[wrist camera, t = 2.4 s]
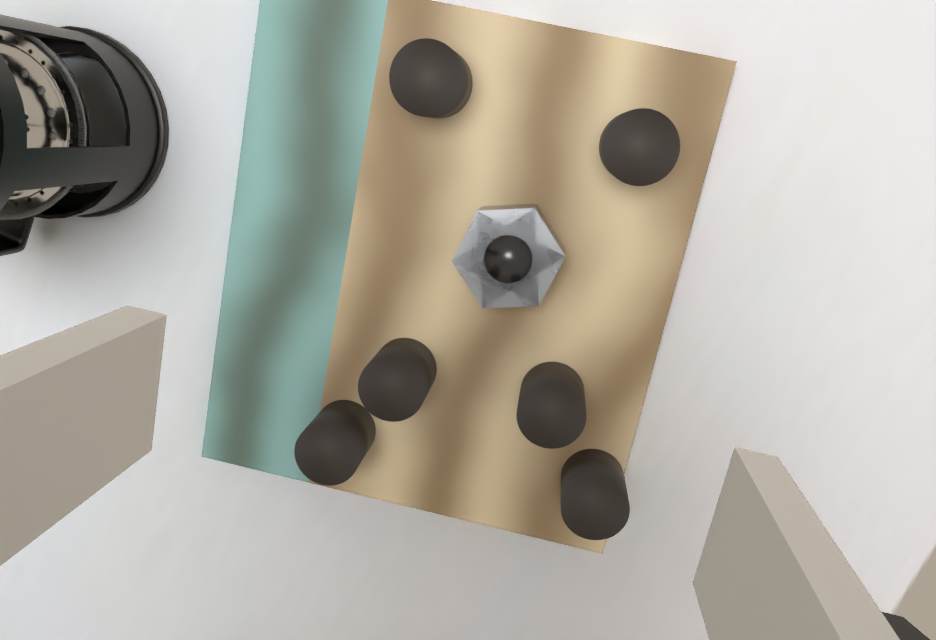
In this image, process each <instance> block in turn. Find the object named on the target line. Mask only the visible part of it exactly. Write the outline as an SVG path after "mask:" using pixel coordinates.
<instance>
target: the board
mask: <svg viewBox="0 0 936 640" xmlns="http://www.w3.org/2000/svg"><path fill="white" fill-rule="evenodd" d="M736 62H737V61H732V60H727V59H722V58H717V57H712V56H707V55H702V54H697V53H692V52H687V51H682V50H677V49H672V48H667V47H662V46H657V45H652V44H647V43H642V42H637V41H632V40H626V39H621V38H616V37H611V36H606V35H601V34H596V33H591V32H586V31H581V30H576V29H571V28H566V27H561V26H556V25H551V24H546V23H541V22H536V21H531V20H526V19H521V18H516V17H511V16H506V15H501V14H496V13H491V12H486V11H481V10H476V9H471V8H466V7H461V6H456V5H451V4H446V3H441V2H436V1H431V0H260V5H259V13H258V21H257V29H256V36H255V44H254V52H253V60H252V68H251V75H250V83H249V91H248V99H247V107H246V114H245V122H244V130H243V138H242V146H241V153H240V161H239V169H238V177H237V185H236V192H235V200H234V208H233V216H232V224H231V231H230V239H229V247H228V255H227V263H226V271H225V278H224V286H223V294H222V302H221V310H220V317H219V325H218V333H217V341H216V349H215V356H214V364H213V372H212V380H211V388H210V395H209V403H208V411H207V419H206V427H205V434H204V442H203V450H202V457H206V458H210V459H214V460H219V461H223V462H227V463H231V464H235V465H239V466H243V467H247V468H252V469H256V470H260V471H264V472H268V473H272V474H276V475H280V476H284V477H289V478H293V479H297V480H301V481H305V482H309V483H313V484H317V485H322V486H326V487H330V488H334V489H338V490H342V491H346V492H350V493H355V494H359V495H363V496H367V497H371V498H375V499H379V500H383V501H388V502H392V503H396V504H400V505H404V506H408V507H412V508H416V509H421V510H425V511H429V512H433V513H437V514H441V515H445V516H449V517H454V518H458V519H462V520H466V521H470V522H474V523H478V524H482V525H487V526H491V527H495V528H499V529H503V530H507V531H511V532H515V533H520V534H524V535H528V536H532V537H536V538H540V539H544V540H548V541H553V542H557V543H561V544H565V545H569V546H573V547H577V548H581V549H586V550H590V551H594V552H598V553H603V549H604V546H605V542H606V539H607V538H610V537H612V536H614V535H615V534H617V533H618V532H619V531H621V529H622V528H623V527H624V526H625V524H626V522H627V520H628V517H629V511H630V508H629V501H628V495H627V490H626V484H625V479H624V472H625V469H626V465H627V461H628V458H629V454H630V450H631V447H632V443H633V439H634V436H635V432H636V428H637V425H638V421H639V417H640V414H641V410H642V406H643V403H644V399H645V395H646V392H647V388H648V384H649V381H650V377H651V373H652V370H653V366H654V362H655V359H656V355H657V351H658V348H659V344H660V340H661V337H662V333H663V329H664V326H665V322H666V318H667V315H668V311H669V307H670V304H671V300H672V296H673V293H674V289H675V285H676V282H677V278H678V274H679V271H680V267H681V263H682V260H683V256H684V252H685V249H686V245H687V241H688V238H689V234H690V230H691V227H692V223H693V219H694V216H695V212H696V208H697V205H698V201H699V197H700V194H701V190H702V186H703V183H704V179H705V175H706V172H707V168H708V164H709V161H710V157H711V153H712V150H713V146H714V142H715V139H716V135H717V131H718V128H719V124H720V120H721V117H722V113H723V109H724V106H725V102H726V98H727V95H728V91H729V87H730V84H731V80H732V76H733V73H734V69H735V65H736ZM517 204H537V205H538V207H539V208H540V210H541V212H542V213H543V215H544V216H545V218H546V219H547V221H548V223H549V224H550V226H551V227H552V229H553V230H554V232H555V234H556V235H557V237H558V238H559V240H560V241H561V243H562V245H563V246H564V248H565V251H566V257H565V259H564V261H563V262H562V264H561V266H560V268H559V270H558V272H557V274H556V275H555V277H554V279H553V281H552V283H551V285H550V287H549V288H548V290H547V292H546V294H545V296H544V298H543V300H542V301H541V303H540V305H539V306H534V307H506V308H482V307H481V305H480V304H479V302H478V301H477V299H476V298H475V296H474V294H473V293H472V291H471V290H470V288H469V287H468V285H467V284H466V282H465V281H464V279H463V278H462V276H461V275H460V273H459V272H458V270H457V269H456V267H455V266H454V264H453V263H452V260H453V258H454V256H455V254H456V252H457V250H458V248H459V246H460V244H461V242H462V240H463V238H464V236H465V234H466V232H467V230H468V228H469V226H470V224H471V222H472V220H473V218H474V216H475V214H476V212H477V210H479V209H480V208H481V207H482V206H497V205H517Z"/></svg>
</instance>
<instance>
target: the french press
mask: <svg viewBox="0 0 936 640" xmlns="http://www.w3.org/2000/svg"><path fill="white" fill-rule="evenodd" d="M70 53H74V54H81V55H84V56H87V57H90V58H93V59H95V60H96V61H98V62H100V63H101V64H102V65H103V67H104V68H105V69H106V70H107V72H108V73H109V75H110V77H111V79H112V80H113V82H114V84H115V86H116V88H117V90H118V92H119V95H120V98H121V101H122V104H123V108H124V113H125V120H126V126H127V130H126V146H90V141H91V135H90V122H89V117H88V111H87V107H86V104H85V101H84V98H83V95H82V92H81V89H80V88H79V86H78V84H77V82H76V80H75V78H74V76H73V75H72V73H71V71H70V70H69V69H68V67H67V66H66V65H65V63H64V62H63V61H62V59H61V58H60V57H59V56H58V55H60V54H70ZM167 143H168V123H167V116H166V109H165V106H164V103H163V100H162V97H161V94H160V91H159V89H158V87H157V85H156V83H155V81H154V79H153V77H152V76H151V74H150V73H149V71H148V70H147V69H146V67H145V66H144V65H143V63H142V62H141V61H140V60H139V58H138V57H136V56H135V55H134V54H133V53H132V52H131V51H130V50H129V49H127V48H126V47H125V46H124V45H123V44H121V43H119V42H118V41H116V40H114V39H113V38H111V37H109V36H108V35H105V34H102V33H99V32H97V31H94V30H91V29H87V28H80V27H72V26H65V27H55V26H51V25H46V24H41V23H37V22H32V21H27V20H23V19H18V18H14V17H9V16H4V15H0V256H3V255H8V254H12V253H17V252H20V251H22V250H23V249H24V248H25V246H26V243H27V240H28V237H29V233H30V230H31V227H32V224H33V221H34V217H40V218H46V219H53V218H67V217H73V216H78V217H100V216H105V215H109V214H112V213H116V212H119V211H121V210H123V209H125V208H127V207H128V206H130V205H132V204H134V203H135V202H136V201H137V200H138V199H139V198H141V197H142V196H143V195H144V194H145V193H146V192H147V191H148V189H149V188H150V187H151V185H152V184H153V183H154V181H155V180H156V178H157V176H158V174H159V172H160V170H161V167H162V165H163V162H164V158H165V154H166V150H167ZM111 181H113V182H112V183H111V185H109V186H108V187H106V188H104V189H102V190H98V191H94V192H86V193H81V192H75V191H70V190H71V189H72V188H73V186H74V185H81V184H91V183H101V182H111Z"/></svg>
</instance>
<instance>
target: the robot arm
mask: <svg viewBox="0 0 936 640" xmlns="http://www.w3.org/2000/svg"><path fill="white" fill-rule="evenodd" d="M165 324H166V315H165V314H161V313H156V312H152V311H148V310H144V309H139V308H135V307H131V306H126V307H123V308H120V309H118V310H115V311H113V312H110V313H108V314H105V315H103V316H100V317H98V318H95V319H92V320H90V321H87V322H85V323H82V324H80V325H77V326H75V327H72V328H69V329H67V330H64V331H62V332H59V333H57V334H54V335H52V336H49V337H47V338H44V339H41V340H39V341H36V342H34V343H31V344H29V345H26V346H24V347H21V348H18V349H16V350H13V351H11V352H8V353H6V354H3V355H1V356H0V566H1V565H2V564H3V563H4V562H6V561H7V560H8V559H10V558H11V557H12V556H14V555H15V554H16V553H18V552H19V551H20V550H21V549H23V548H24V547H25V546H27V545H28V544H29V543H31V542H32V541H33V540H35V539H36V538H37V537H38V536H40V535H41V534H42V533H44V532H45V531H46V530H48V529H49V528H50V527H52V526H53V525H54V524H55V523H57V522H58V521H59V520H61V519H62V518H63V517H65V516H66V515H67V514H68V513H70V512H71V511H72V510H74V509H75V508H76V507H78V506H79V505H80V504H82V503H83V502H84V501H85V500H87V499H88V498H89V497H91V496H92V495H93V494H95V493H96V492H97V491H99V490H100V489H101V488H102V487H104V486H105V485H106V484H108V483H109V482H110V481H112V480H113V479H114V478H116V477H117V476H118V475H119V474H121V473H122V472H123V471H125V470H126V469H127V468H129V467H130V466H131V465H132V464H134V463H135V462H136V461H138V460H139V459H140V458H142V457H143V456H144V455H146V454H147V453H148V452H149V451H151V449H152V440H153V431H154V422H155V413H156V404H157V396H158V387H159V378H160V369H161V360H162V351H163V342H164V333H165ZM693 585H694V588H695V592H696V595H697V599H698V602H699V605H700V609H701V612H702V616H703V619H704V623H705V626H706V629H707V633H708V636H709V640H930V639H929V638H927V637H926V636H925V635H923V634H922V633H921V632H920V631H919V630H918V629H917V628H915V627H914V626H913V625H912V624H911V623H909V622H908V621H907V620H906V619H905V618H903V617H900V616H896V615H892V614H888V613H884V612H881V610H880V609H879V607H878V606H877V604H876V603H875V601H874V600H873V599H872V597H871V596H870V594H869V593H868V591H867V590H866V588H865V587H864V585H863V584H862V582H861V581H860V579H859V578H858V576H857V575H856V573H855V572H854V570H853V569H852V567H851V566H850V564H849V563H848V561H847V560H846V558H845V557H844V555H843V554H842V552H841V551H840V549H839V548H838V546H837V545H836V543H835V542H834V540H833V539H832V537H831V536H830V534H829V533H828V531H827V530H826V528H825V527H824V525H823V524H822V522H821V521H820V519H819V518H818V516H817V515H816V513H815V512H814V510H813V509H812V507H811V506H810V504H809V503H808V501H807V500H806V498H805V497H804V495H803V494H802V492H801V491H800V489H799V488H798V486H797V485H796V483H795V482H794V480H793V479H792V477H791V476H790V474H789V473H788V471H787V470H786V468H785V467H784V465H783V464H782V462H781V461H780V459H779V458H778V457H775V456H771V455H766V454H762V453H758V452H753V451H749V450H745V449H740V448H736V447H735V448H734V451H733V455H732V458H731V461H730V464H729V468H728V471H727V474H726V477H725V480H724V484H723V487H722V490H721V493H720V497H719V500H718V503H717V506H716V510H715V513H714V516H713V519H712V522H711V526H710V529H709V532H708V535H707V539H706V542H705V545H704V548H703V551H702V555H701V558H700V561H699V564H698V568H697V571H696V574H695V577H694V581H693Z"/></svg>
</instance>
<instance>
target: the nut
mask: <svg viewBox="0 0 936 640" xmlns="http://www.w3.org/2000/svg"><path fill="white" fill-rule="evenodd" d="M565 257H566V251H565V248H564V246H563V245H562V243H561V241H560V240H559V238H558V237H557V235H556V234H555V232H554V230H553V229H552V227H551V226H550V224H549V223H548V221H547V219H546V218H545V216H544V215H543V213H542V212H541V210H540V208H539V207H538V205H537V204H517V205H497V206H482V207H481V208H480V209H479V210H477V212H476V214H475V216H474V218H473V220H472V222H471V224H470V226H469V228H468V230H467V232H466V234H465V236H464V238H463V240H462V242H461V244H460V246H459V248H458V250H457V252H456V254H455V256H454V258H453V260H452V263H453V264H454V266H455V267H456V269H457V270H458V272H459V273H460V275H461V276H462V278H463V279H464V281H465V282H466V284H467V285H468V287H469V288H470V290H471V291H472V293H473V294H474V296H475V298H476V299H477V301H478V302H479V304H480V305H481V307H482V308H506V307H534V306H539V305H540V303H541V301H542V300H543V298H544V296H545V294H546V292H547V290H548V288H549V287H550V285H551V283H552V281H553V279H554V277H555V275H556V274H557V272H558V270H559V268H560V266H561V264H562V262H563V261H564V259H565Z"/></svg>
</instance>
